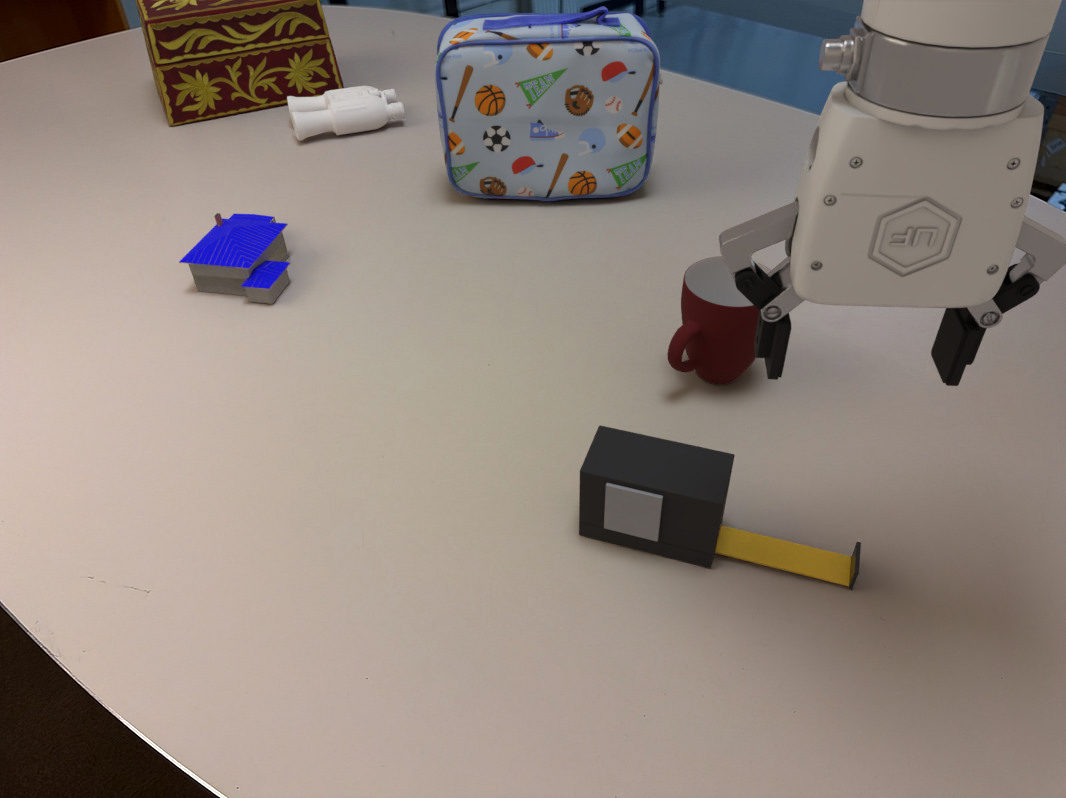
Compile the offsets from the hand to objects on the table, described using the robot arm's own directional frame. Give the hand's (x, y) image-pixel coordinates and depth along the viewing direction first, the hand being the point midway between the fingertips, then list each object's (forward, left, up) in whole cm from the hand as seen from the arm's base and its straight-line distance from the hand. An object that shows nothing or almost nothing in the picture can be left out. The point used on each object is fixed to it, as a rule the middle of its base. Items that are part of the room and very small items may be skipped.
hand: (856, 367), depth 47 cm
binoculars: (+72, -62, -18) cm, 97 cm away
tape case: (+11, 0, -18) cm, 21 cm away
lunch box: (+36, -51, -18) cm, 65 cm away
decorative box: (+95, -70, -18) cm, 119 cm away
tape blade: (+2, 0, -18) cm, 18 cm away
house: (+63, -22, -18) cm, 69 cm away
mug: (+10, -19, -18) cm, 28 cm away
